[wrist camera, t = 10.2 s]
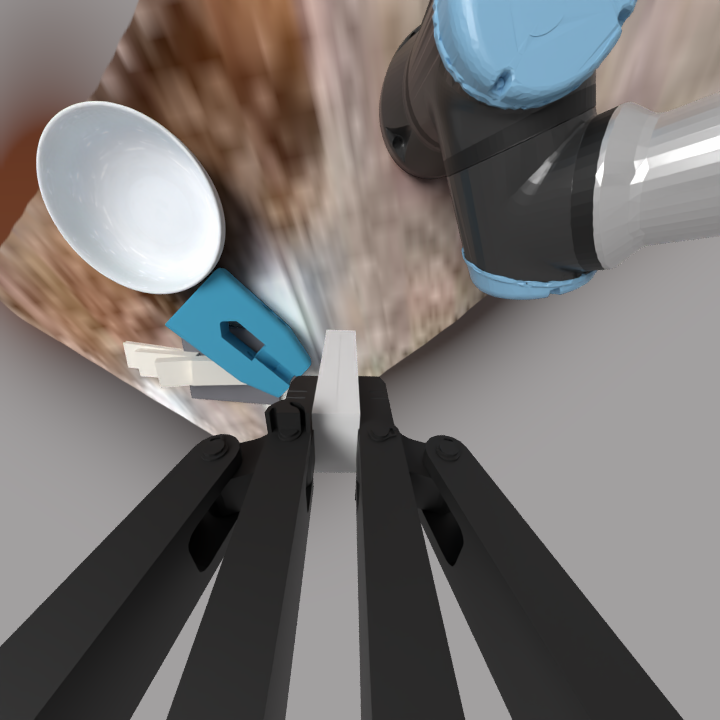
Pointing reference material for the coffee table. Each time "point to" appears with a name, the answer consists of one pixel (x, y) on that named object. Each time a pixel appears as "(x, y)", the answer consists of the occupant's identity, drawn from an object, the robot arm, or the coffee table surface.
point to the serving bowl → (130, 197)
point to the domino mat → (232, 391)
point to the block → (212, 338)
